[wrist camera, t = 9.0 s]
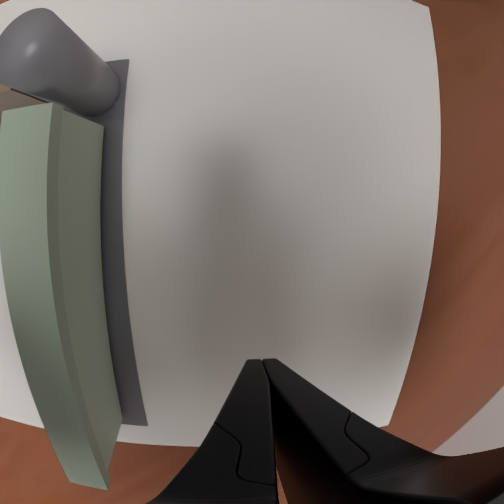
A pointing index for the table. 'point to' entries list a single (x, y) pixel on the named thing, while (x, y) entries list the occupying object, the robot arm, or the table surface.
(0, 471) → the table surface
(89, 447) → the hinged panel
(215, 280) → the card
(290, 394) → the robot arm
